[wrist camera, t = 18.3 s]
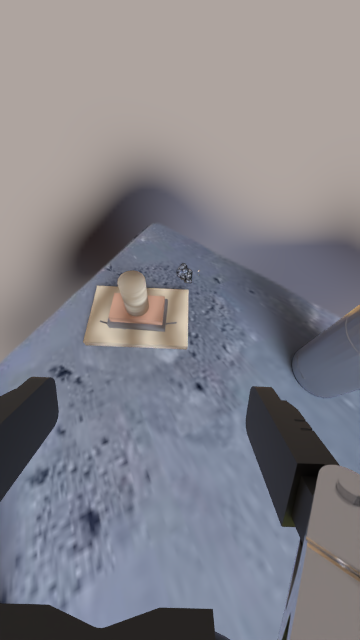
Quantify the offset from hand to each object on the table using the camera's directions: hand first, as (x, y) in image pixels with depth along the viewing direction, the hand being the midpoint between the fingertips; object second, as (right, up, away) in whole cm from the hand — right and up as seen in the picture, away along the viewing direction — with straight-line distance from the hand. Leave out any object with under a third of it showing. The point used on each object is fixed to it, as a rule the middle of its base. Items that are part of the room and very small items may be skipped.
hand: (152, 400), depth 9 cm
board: (-6, +4, +34) cm, 35 cm away
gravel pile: (+3, +13, +41) cm, 43 cm away
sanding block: (-6, +4, +33) cm, 34 cm away
